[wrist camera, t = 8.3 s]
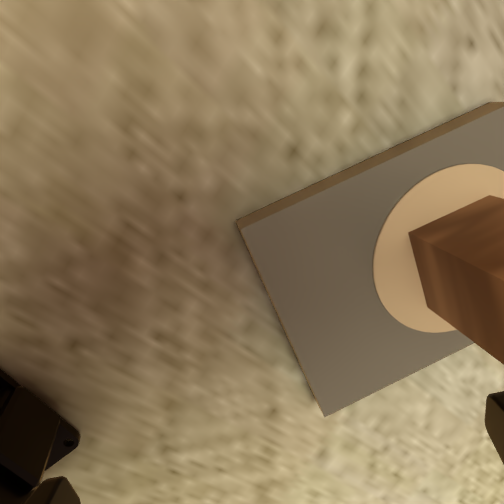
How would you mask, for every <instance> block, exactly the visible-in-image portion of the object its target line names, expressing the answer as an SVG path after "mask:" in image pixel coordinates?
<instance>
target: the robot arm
mask: <svg viewBox="0 0 504 504" xmlns="http://www.w3.org/2000/svg"><path fill="white" fill-rule="evenodd" d="M485 426H486V429H487V432H488V434H489V436H490V438H491V440H492V442H493V444H494V446H495V448H496V450H497V452H498V454H499V456H500V458H501V460H502V462H503V464H504V391H502V392H497V393H492V394H489V395H488V396H487V400H486V411H485ZM66 439H72V440H73V441H67V440H66ZM79 441H80V434H79V433H78V431H76V430H75V429H74V428H73V427H71V426H70V425H69V424H68V423H67V422H65V421H64V420H63V419H62V418H60V416H59V415H58V414H57V413H56V412H54V411H53V410H52V409H51V408H49V407H48V406H47V405H46V404H44V403H43V402H42V401H41V400H40V399H38V398H37V397H36V396H35V395H33V394H32V393H31V392H30V391H28V390H27V389H26V388H25V387H22V386H21V385H20V384H18V383H17V382H16V381H15V380H14V379H12V378H11V377H10V376H9V375H7V374H6V373H5V372H4V371H2V370H1V369H0V504H81V502H80V499H79V497H78V495H77V493H76V492H75V490H74V489H73V487H72V486H71V484H70V482H69V481H68V479H67V478H66V477H63V476H60V477H55V478H50V479H46V480H45V481H43V482H42V483H41V484H40V482H41V479H42V476H43V473H44V471H45V470H47V469H48V468H49V467H51V466H52V465H53V464H55V463H56V462H58V461H59V460H60V459H62V458H63V457H64V456H66V455H67V454H69V453H70V452H71V451H73V450H74V449H75V448H76V447H77V446H78V444H79ZM36 488H37V489H36Z"/></svg>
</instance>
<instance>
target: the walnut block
mask: <svg viewBox="0 0 504 504" xmlns="http://www.w3.org/2000/svg"><path fill="white" fill-rule="evenodd" d="M408 235H409V238H410V242H411V246H412V250H413V254H414V258H415V262H416V266H417V269H418V273H419V277H420V281H421V285H422V289H423V293H424V296H425V300H426V304H427V307H428V308H429V309H430V310H432V311H433V312H434V313H436V314H437V315H438V316H440V317H441V318H442V319H444V320H445V321H446V322H448V323H449V324H450V325H452V326H453V327H454V328H456V329H457V330H458V331H460V332H461V333H462V334H464V335H465V336H466V337H468V338H469V339H470V340H472V341H473V342H474V343H476V344H477V345H478V346H480V347H481V348H482V349H484V350H485V351H486V352H488V353H489V354H490V355H492V356H493V357H494V358H496V359H497V360H498V361H500V362H501V363H502V364H504V199H503V198H499V197H495V196H491V195H489V196H486V197H484V198H482V199H480V200H478V201H475V202H473V203H471V204H469V205H467V206H465V207H462V208H460V209H458V210H456V211H454V212H452V213H449V214H447V215H445V216H443V217H441V218H439V219H436V220H434V221H432V222H430V223H428V224H425V225H423V226H421V227H419V228H417V229H415V230H412V231H410V232H408Z"/></svg>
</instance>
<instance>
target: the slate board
mask: <svg viewBox="0 0 504 504" xmlns="http://www.w3.org/2000/svg"><path fill="white" fill-rule="evenodd" d="M489 195H491V196H495V197H499V198H503V199H504V102H490V103H488V104H485V105H483V106H481V107H479V108H477V109H475V110H473V111H470V112H468V113H466V114H464V115H462V116H460V117H457V118H455V119H453V120H451V121H449V122H447V123H445V124H442V125H440V126H438V127H436V128H434V129H432V130H430V131H427V132H425V133H423V134H421V135H419V136H417V137H415V138H412V139H410V140H408V141H406V142H404V143H402V144H399V145H397V146H395V147H393V148H391V149H389V150H387V151H384V152H382V153H380V154H378V155H376V156H374V157H372V158H369V159H367V160H365V161H363V162H361V163H359V164H356V165H354V166H352V167H350V168H348V169H346V170H344V171H341V172H339V173H337V174H335V175H333V176H331V177H329V178H326V179H324V180H322V181H320V182H318V183H316V184H313V185H311V186H309V187H307V188H305V189H303V190H301V191H298V192H296V193H294V194H292V195H290V196H288V197H286V198H283V199H281V200H279V201H277V202H275V203H273V204H271V205H268V206H266V207H264V208H262V209H260V210H258V211H255V212H253V213H251V214H249V215H247V216H245V217H243V218H240V219H238V220H236V221H235V222H236V224H237V227H238V229H239V231H240V233H241V235H242V238H243V240H244V242H245V244H246V247H247V249H248V251H249V253H250V255H251V258H252V260H253V262H254V264H255V267H256V269H257V271H258V273H259V275H260V278H261V280H262V282H263V284H264V287H265V289H266V291H267V293H268V295H269V298H270V300H271V302H272V304H273V307H274V309H275V311H276V313H277V315H278V318H279V320H280V322H281V324H282V327H283V329H284V331H285V333H286V335H287V338H288V340H289V342H290V344H291V347H292V349H293V351H294V353H295V355H296V358H297V360H298V362H299V364H300V367H301V369H302V371H303V373H304V375H305V378H306V380H307V382H308V384H309V387H310V389H311V391H312V393H313V396H314V398H315V400H316V402H317V404H318V406H319V408H320V409H321V411H322V413H323V415H324V417H326V416H328V415H330V414H332V413H334V412H336V411H338V410H340V409H342V408H344V407H346V406H348V405H350V404H352V403H354V402H356V401H358V400H360V399H362V398H364V397H366V396H368V395H370V394H372V393H374V392H376V391H378V390H380V389H382V388H384V387H386V386H388V385H391V384H393V383H395V382H397V381H399V380H401V379H403V378H405V377H407V376H409V375H411V374H413V373H415V372H417V371H419V370H421V369H423V368H425V367H427V366H429V365H431V364H433V363H435V362H437V361H439V360H441V359H443V358H445V357H447V356H449V355H451V354H453V353H455V352H457V351H459V350H461V349H463V348H465V347H467V346H469V345H471V344H473V343H474V342H473V341H472V340H470V339H469V338H468V337H466V336H465V335H464V334H462V333H461V332H460V331H458V330H457V329H456V328H454V327H453V326H452V325H450V324H449V323H448V322H446V321H445V320H444V319H442V318H441V317H440V316H438V315H437V314H436V313H434V312H433V311H432V310H430V309H429V308H428V307H427V304H426V300H425V296H424V293H423V289H422V285H421V281H420V277H419V273H418V269H417V266H416V262H415V258H414V254H413V250H412V246H411V242H410V238H409V235H408V232H410V231H412V230H415V229H417V228H419V227H421V226H423V225H425V224H428V223H430V222H432V221H434V220H436V219H439V218H441V217H443V216H445V215H447V214H449V213H452V212H454V211H456V210H458V209H460V208H462V207H465V206H467V205H469V204H471V203H473V202H475V201H478V200H480V199H482V198H484V197H486V196H489Z"/></svg>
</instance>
